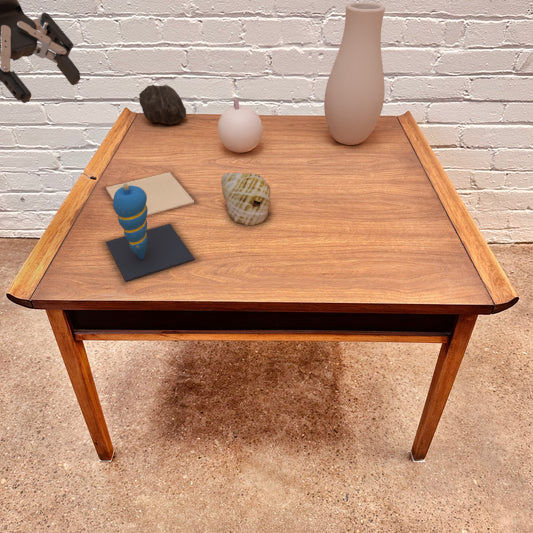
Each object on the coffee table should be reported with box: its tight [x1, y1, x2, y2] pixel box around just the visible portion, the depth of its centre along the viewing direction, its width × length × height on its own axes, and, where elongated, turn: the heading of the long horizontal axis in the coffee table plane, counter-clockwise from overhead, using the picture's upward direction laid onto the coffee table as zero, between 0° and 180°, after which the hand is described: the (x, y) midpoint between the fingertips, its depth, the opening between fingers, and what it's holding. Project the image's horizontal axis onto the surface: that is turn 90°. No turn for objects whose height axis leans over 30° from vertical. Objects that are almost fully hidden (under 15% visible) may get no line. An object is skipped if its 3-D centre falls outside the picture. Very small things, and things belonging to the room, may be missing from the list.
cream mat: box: [105, 171, 195, 217], centre depth 98 cm, size 14×14×1 cm
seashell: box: [220, 172, 271, 226], centre depth 92 cm, size 10×10×10 cm
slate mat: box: [105, 223, 196, 283], centre depth 83 cm, size 12×12×1 cm
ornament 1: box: [112, 182, 148, 259], centre depth 76 cm, size 5×5×15 cm
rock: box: [138, 84, 187, 125], centre depth 125 cm, size 10×11×10 cm
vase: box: [323, 1, 386, 146], centre depth 110 cm, size 14×14×30 cm
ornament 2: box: [217, 98, 264, 154], centre depth 111 cm, size 10×10×12 cm
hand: (53, 90), depth 69 cm, fingers open, 8 cm apart
